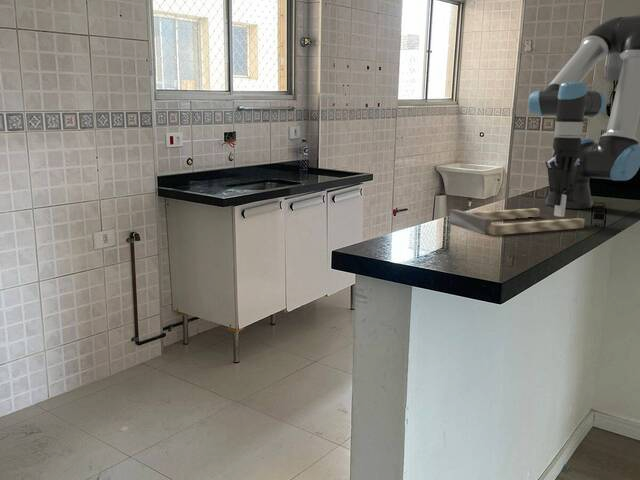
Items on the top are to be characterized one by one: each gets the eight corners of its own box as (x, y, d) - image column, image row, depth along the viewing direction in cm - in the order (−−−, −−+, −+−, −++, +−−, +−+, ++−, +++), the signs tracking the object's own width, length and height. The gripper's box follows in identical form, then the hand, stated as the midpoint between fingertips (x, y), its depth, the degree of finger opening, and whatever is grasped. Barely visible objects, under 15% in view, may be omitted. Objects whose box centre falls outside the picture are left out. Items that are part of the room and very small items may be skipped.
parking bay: (534, 215, 190) (535, 203, 189) (583, 227, 172) (585, 214, 171) (445, 222, 178) (446, 208, 177) (488, 235, 160) (489, 220, 159)
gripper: (574, 136, 182) (566, 212, 187) (541, 136, 177) (533, 215, 182) (594, 137, 175) (585, 217, 180) (560, 137, 170) (551, 219, 175)
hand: (559, 215), depth 181 cm, fingers closed
